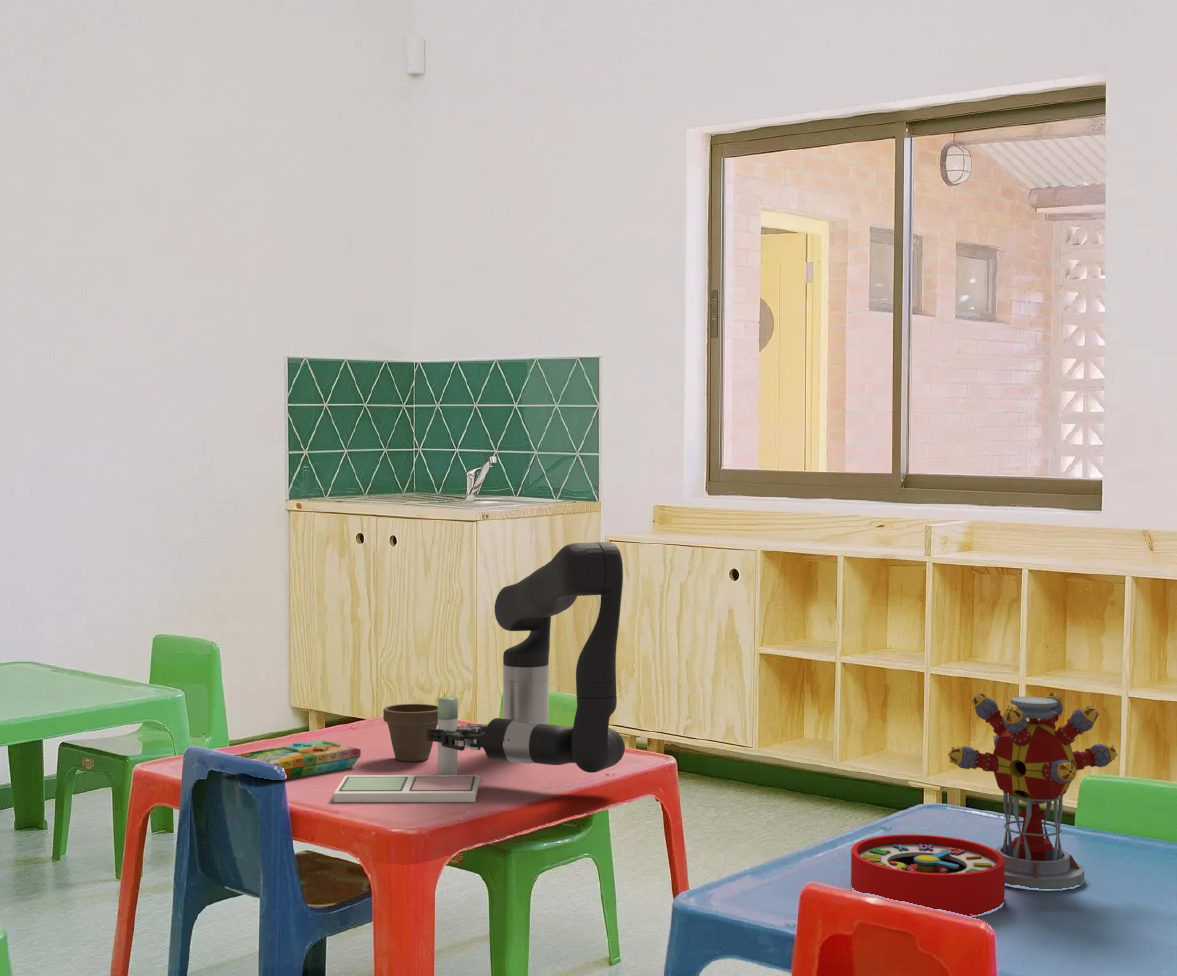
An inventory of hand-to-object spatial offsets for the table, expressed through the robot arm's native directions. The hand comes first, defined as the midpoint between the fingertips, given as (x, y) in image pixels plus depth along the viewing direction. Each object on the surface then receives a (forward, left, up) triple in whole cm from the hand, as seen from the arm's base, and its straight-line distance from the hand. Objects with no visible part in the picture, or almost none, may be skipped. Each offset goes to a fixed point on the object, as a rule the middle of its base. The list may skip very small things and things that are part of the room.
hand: (434, 732), depth 258 cm
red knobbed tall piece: (+65, +88, -8) cm, 110 cm away
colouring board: (+13, -4, -8) cm, 16 cm away
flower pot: (-16, -6, -8) cm, 19 cm away
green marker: (+1, +2, -8) cm, 8 cm away
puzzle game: (-5, -26, -9) cm, 28 cm away
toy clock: (+73, +71, -8) cm, 103 cm away
